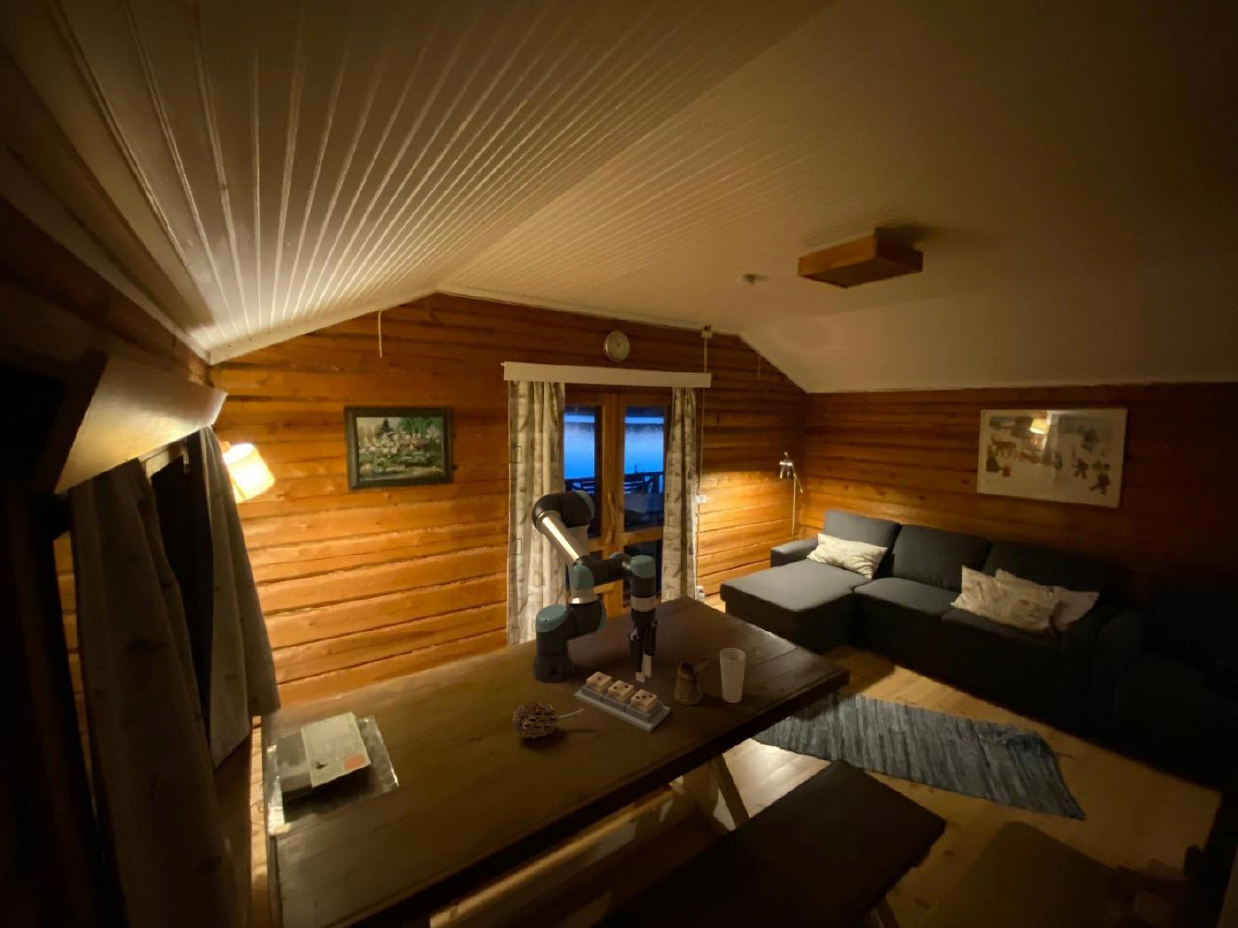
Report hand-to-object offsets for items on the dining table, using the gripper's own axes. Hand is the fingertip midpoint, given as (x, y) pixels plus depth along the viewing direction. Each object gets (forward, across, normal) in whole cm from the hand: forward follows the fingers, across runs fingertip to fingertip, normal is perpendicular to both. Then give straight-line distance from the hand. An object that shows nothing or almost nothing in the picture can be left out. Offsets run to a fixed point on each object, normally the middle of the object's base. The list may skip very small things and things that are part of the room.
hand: (643, 677), depth 159 cm
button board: (+13, 0, +9) cm, 15 cm away
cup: (+13, +24, -19) cm, 33 cm away
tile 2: (+10, 0, +9) cm, 13 cm away
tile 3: (+10, 0, 0) cm, 10 cm away
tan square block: (+10, 0, +18) cm, 20 cm away
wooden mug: (+13, +15, -9) cm, 22 cm away
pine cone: (+13, -23, +19) cm, 32 cm away
